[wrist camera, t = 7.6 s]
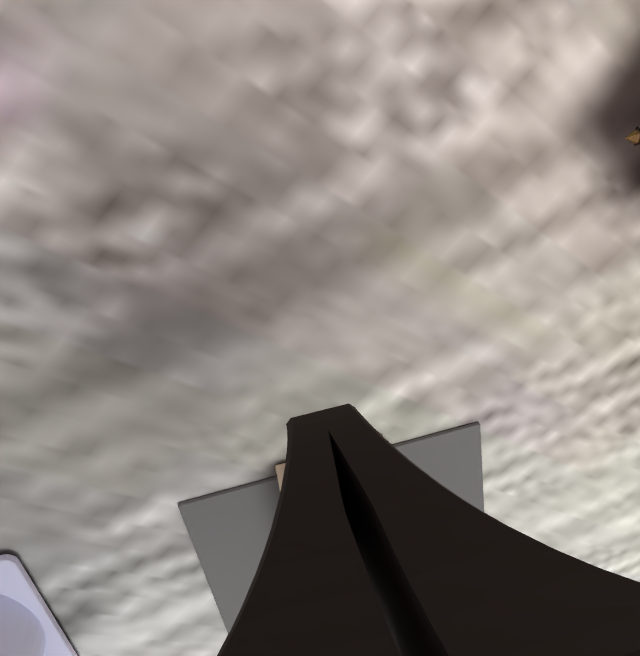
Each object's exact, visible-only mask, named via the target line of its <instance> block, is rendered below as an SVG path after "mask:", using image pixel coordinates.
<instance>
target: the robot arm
mask: <svg viewBox="0 0 640 656" xmlns="http://www.w3.org/2000/svg"><path fill="white" fill-rule="evenodd" d="M286 425H287V434H288V442H287V454H286V463H285V469H284V475H283V480H282V486H281V491H280V496H279V500H278V504H277V508H276V511H275V515H274V519H273V523H272V527H271V530H270V533H269V537H268V540H267V543H266V546H265V549H264V552H263V555H262V557H261V560H260V563H259V566H258V568H257V571H256V574H255V576H254V579H253V581H252V583H251V586H250V588H249V590H248V593H247V595H246V598H245V600H244V602H243V605H242V607H241V609H240V611H239V614H238V616H237V618H236V620H235V622H234V624H233V626H232V628H231V630H230V632H229V634H228V636H227V638H226V640H225V642H224V644H223V645H222V647H221V649H220V651H219V653H218V655H217V656H640V582H637V581H634V580H632V579H629V578H626V577H623V576H620V575H617V574H614V573H612V572H609V571H606V570H603V569H601V568H598V567H596V566H593V565H591V564H588V563H586V562H584V561H581V560H579V559H576V558H574V557H572V556H569V555H567V554H565V553H562V552H560V551H558V550H555V549H553V548H551V547H549V546H547V545H545V544H543V543H541V542H539V541H537V540H535V539H533V538H531V537H529V536H527V535H525V534H523V533H521V532H519V531H517V530H515V529H513V528H511V527H509V526H507V525H505V524H503V523H502V522H500V521H498V520H496V519H495V518H493V517H491V516H489V515H488V514H486V513H484V512H482V511H481V510H479V509H478V508H476V507H474V506H473V505H471V504H470V503H468V502H466V501H465V500H463V499H462V498H460V497H459V496H457V495H456V494H454V493H453V492H451V491H450V490H449V489H447V488H446V487H444V486H443V485H441V484H440V483H439V482H437V481H436V480H435V479H433V478H432V477H431V476H429V475H428V474H427V473H425V472H424V471H423V470H421V469H420V468H419V467H418V466H416V465H415V464H414V463H413V462H411V461H410V460H409V459H408V458H407V457H406V456H404V455H403V454H402V453H401V452H400V451H399V450H397V449H396V448H395V447H394V446H393V445H392V444H390V443H389V442H388V441H387V440H386V439H385V438H384V437H383V436H382V435H381V434H380V433H379V432H378V431H377V430H376V429H374V428H373V427H372V426H371V425H370V424H369V422H368V421H367V420H366V419H365V418H364V417H363V416H362V415H361V414H360V413H359V412H358V411H357V409H356V408H355V407H353V406H352V405H350V404H345V405H341V406H337V407H333V408H329V409H325V410H321V411H317V412H313V413H309V414H305V415H301V416H297V417H293V418H291V419H290V420H289V421H288V423H287V424H286ZM0 656H77V654H76V652H75V651H74V649H73V648H72V646H71V644H70V643H69V641H68V639H67V638H66V636H65V634H64V633H63V631H62V630H61V628H60V626H59V625H58V623H57V621H56V620H55V618H54V616H53V615H52V613H51V612H50V610H49V608H48V607H47V605H46V603H45V602H44V600H43V598H42V597H41V595H40V594H39V592H38V590H37V589H36V587H35V585H34V584H33V582H32V581H31V579H30V577H29V576H28V574H27V572H26V571H25V569H24V567H23V566H22V564H21V563H20V561H19V559H18V558H17V557H15V556H13V555H9V554H5V555H0Z"/></svg>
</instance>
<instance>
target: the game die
mask: <svg viewBox="0 0 640 656" xmlns="http://www.w3.org/2000/svg"><path fill="white" fill-rule="evenodd" d="M625 139H627V140H629V141H630V142H632V143H634V146H635V145H639V144H640V128H639V127H637V128H636V129H635V131H633V132H632V133H631V134H630V135H628V136H627V137H626V138H625Z"/></svg>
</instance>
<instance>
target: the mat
mask: <svg viewBox="0 0 640 656" xmlns="http://www.w3.org/2000/svg"><path fill="white" fill-rule="evenodd" d="M393 446H394V447H395V448H396V449H397V450H399V451H400V452H401V453H402V454H403V455H404V456H406V457H407V458H408V459H409V460H410V461H411V462H413V463H414V464H415V465H416V466H418V467H419V468H420V469H421V470H423V471H424V472H425V473H427V474H428V475H429V476H431V477H432V478H433V479H435V480H436V481H437V482H439V483H440V484H441V485H443V486H444V487H446V488H447V489H449V490H450V491H451V492H453V493H454V494H456V495H457V496H459V497H460V498H462V499H463V500H465V501H466V502H468V503H470V504H471V505H473V506H474V507H476V508H478V509H479V510H481V511H482V512H484V500H483V478H482V456H481V434H480V424H479V422H476V423H472V424H468V425H465V426H461V427H457V428H454V429H450V430H446V431H442V432H439V433H435V434H431V435H428V436H424V437H420V438H417V439H413V440H409V441H406V442H402V443H398V444H394V445H393ZM279 496H280V489H279V483H278V478H277V476H276V477H272V478H269V479H265V480H261V481H258V482H254V483H250V484H247V485H243V486H239V487H235V488H232V489H228V490H224V491H221V492H217V493H213V494H210V495H206V496H202V497H199V498H195V499H191V500H187V501H184V502H180V503H178V507H179V510H180V512H181V515H182V517H183V520H184V522H185V525H186V527H187V530H188V532H189V535H190V538H191V540H192V543H193V545H194V548H195V550H196V553H197V555H198V558H199V560H200V563H201V566H202V568H203V571H204V573H205V576H206V578H207V581H208V583H209V586H210V588H211V591H212V593H213V596H214V599H215V601H216V604H217V606H218V609H219V611H220V614H221V616H222V619H223V621H224V624H225V627H226V629H227V632H228V634H229V632H230V630H231V628H232V626H233V624H234V622H235V620H236V618H237V616H238V614H239V611H240V609H241V607H242V605H243V602H244V600H245V598H246V595H247V593H248V590H249V588H250V586H251V583H252V581H253V579H254V576H255V574H256V571H257V568H258V566H259V563H260V560H261V557H262V555H263V552H264V549H265V546H266V543H267V540H268V537H269V533H270V530H271V527H272V523H273V519H274V515H275V511H276V508H277V504H278V500H279Z"/></svg>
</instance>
